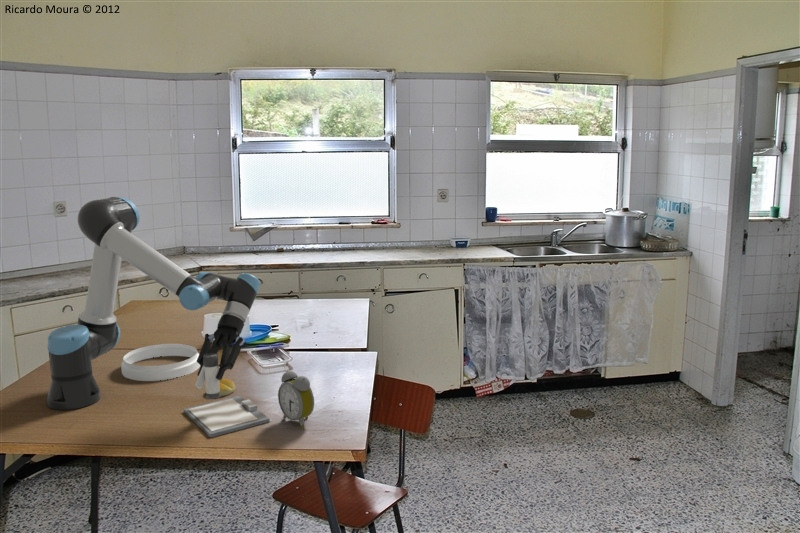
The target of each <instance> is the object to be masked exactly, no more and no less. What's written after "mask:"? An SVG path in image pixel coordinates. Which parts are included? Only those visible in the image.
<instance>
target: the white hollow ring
mask: <svg viewBox="0 0 800 533" xmlns="http://www.w3.org/2000/svg"><path fill="white" fill-rule="evenodd" d="M199 354H200V352H198V349H197V348H196V347H194V346H191V345H188V344H184V343H183V344H182V343H161V344H160V343H159V344H153V345H148V346H142V347H140V348H139V347H138V348H135V349H133V350H131V351H129V352H127V353H126V354H125V355H124V356H123V358H122V359H123V360H122V361H121V364H120V366H121V374H122V376H123V377H124V378H126V379H129V380H133V381H139V382H140V381H141V382H157V381H160V380H161V381H166V380H167V379H168V380H174V379H177V378H176V377H178V378H181V376H182V377H184V375H185V376H187V375H191V374H192V373H195V372H197V370H198V369H200V367H201V365H200V364H198V363H197V359H198V356H199ZM160 356H162V357H185V358H187V357H188V358H187V359H185V360H182V361H178V362H173V363H169V364H163V365H162V364H161V365H137V364H135V363H137V362H140V361H144V360H147V359H154V358H159V357H160ZM153 357H154V358H153ZM160 358H161V357H160ZM173 378H174V379H173Z"/></svg>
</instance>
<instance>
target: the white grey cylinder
mask: <svg viewBox="0 0 800 533" xmlns="http://www.w3.org/2000/svg"><path fill="white" fill-rule="evenodd" d="M203 362H204V371H205V382H204V384H205V385H204V386H205V398H206V399H207V400H216V399H219V398H220V397H221V396H220V386H219V382H218V384H217V387H216V389H215V391H212V390H211V389H210V388H209V387H208V386H209V384H210V381H211V379H212V377H213V374H214V372H215V369H216V367H219V366H218V365H219V355H218V352H217V353H208V354H205V355H203Z"/></svg>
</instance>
